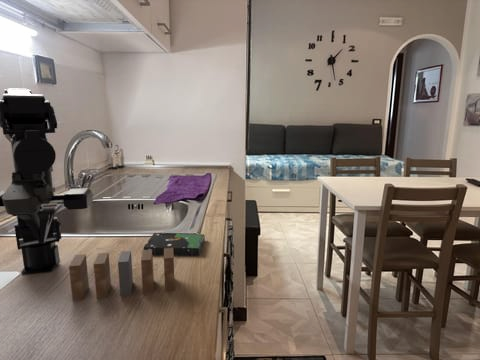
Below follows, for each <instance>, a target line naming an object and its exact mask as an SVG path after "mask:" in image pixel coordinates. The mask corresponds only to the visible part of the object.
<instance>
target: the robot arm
mask: <svg viewBox="0 0 480 360" xmlns="http://www.w3.org/2000/svg"><path fill="white" fill-rule="evenodd" d="M0 129H2V134H3V135H4V137H5V139H7V141H9V143H10V147H11V154H12V160H13V167H14V171H12V172H11V175H12V176H11V179H12V180H11V184H10V185H9V186H8V187H7V188H6V190H1V191H0V207H1V208H2V207H4V209H5V211H6V212H5V213H6V214H7V215H9V216H10V215H11V216H12V217H16V220H17V222H16V223H13V226H14V233H15V240H16V247H17V251H19V250H21V256H22V261H23V262H22V263H23V269H22V270H21V271H20V273H21V274H22V275H23V274H36V273H48V272H52V271H54V269H55V267H56V266H57V265H58V263H59V262H60V260H61V259H60V252H59V246H58V244H56V243H59V242H60V240H62V223H61V222H60V221H59V219H58V217H57V216H55V214H56V213H58V212H59V210H61V209H62V208H63V207H64V208H66V209H67V210H85V209H87V208H89V206H90V205H91V204H92V203H93V201H94V197H93V196H94V195H93V191H92V190H91V189H90V188H88V187H84V188H83V187H82V188H69V190H67V191H66V192H65V193H55V192H56V186H55V185H54V186H53V178H52V172H54V170H53V169H54V168H53V165H54V163H55V161H56V157H57V156H56V151H55V148H54V146H53V145H52V144H51V143H50V142H49V141H48V138H47V134H55V133H56V129H58V121H57V118H56V113H55V109H54V106H52V105H51V102H50V101H49V100H46V98H45V95H44V94H35V93H34V94H32V90H31V89H28V88H17V87H16V88H14V87H11V88H10V87H9V88H7V89H6V88H4V93H2V99H0ZM54 216H55V217H54Z"/></svg>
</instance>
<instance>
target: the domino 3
mask: <svg viewBox="0 0 480 360" xmlns="http://www.w3.org/2000/svg"><path fill="white" fill-rule="evenodd" d="M132 259H133V258H132V250H127V251H125V250H124V251H120V255H119V258H118V260H117V269H118V281H119V293H120V294H119V295H120V297H123V296H132V291H133V285H134V284H133V283H134V279H133V278H134V277H133V262H132V261H133V260H132Z"/></svg>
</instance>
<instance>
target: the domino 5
mask: <svg viewBox="0 0 480 360" xmlns="http://www.w3.org/2000/svg"><path fill="white" fill-rule="evenodd" d="M174 258H175V255H174V253H173V248H164V255H163V270H164V271H163V272H164V292H173V291H175V290H176V288H175V287H176V285H175V259H174Z"/></svg>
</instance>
